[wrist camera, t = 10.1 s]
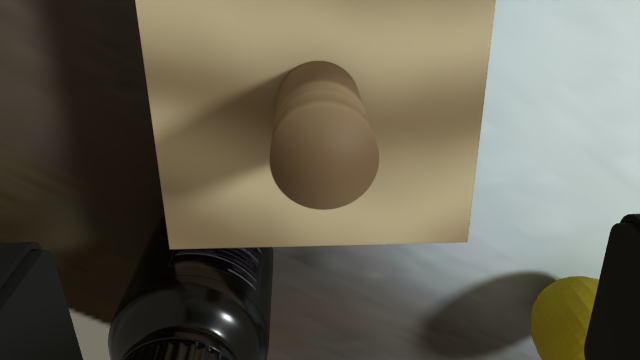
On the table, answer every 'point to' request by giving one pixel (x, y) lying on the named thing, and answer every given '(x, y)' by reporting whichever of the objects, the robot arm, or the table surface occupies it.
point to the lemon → (563, 318)
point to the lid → (316, 118)
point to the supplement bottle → (195, 304)
